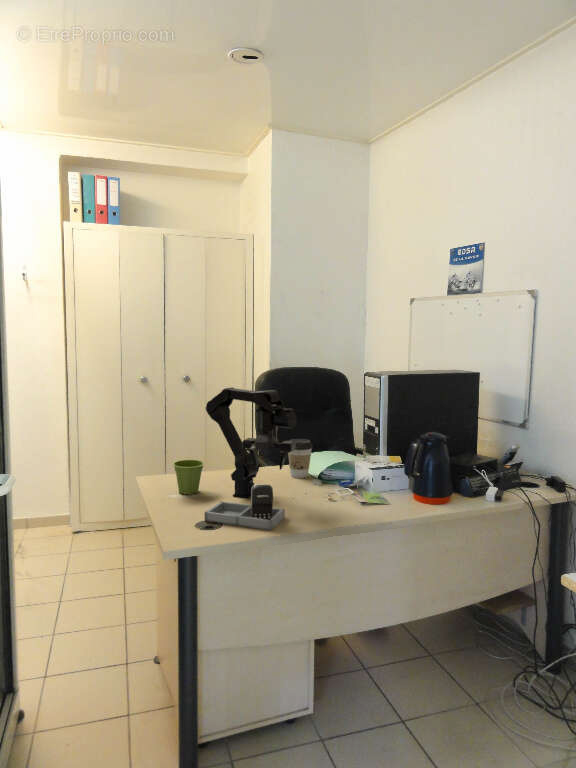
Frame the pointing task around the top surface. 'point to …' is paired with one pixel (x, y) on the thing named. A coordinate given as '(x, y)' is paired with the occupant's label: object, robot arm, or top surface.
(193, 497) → the top surface
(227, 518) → the divided tray
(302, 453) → the coffee cup
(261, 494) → the battery charger
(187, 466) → the plant pot
